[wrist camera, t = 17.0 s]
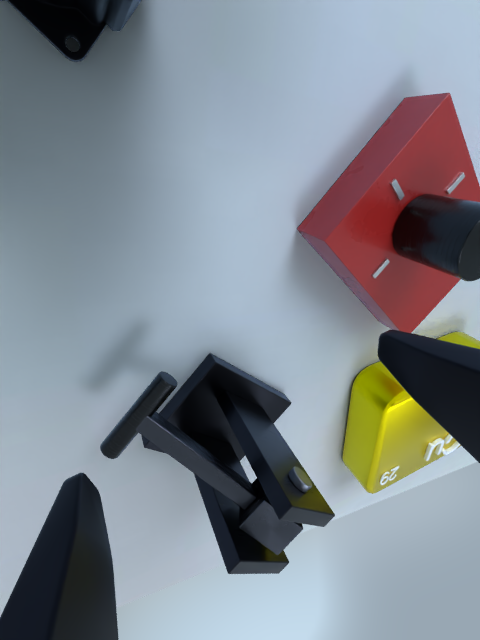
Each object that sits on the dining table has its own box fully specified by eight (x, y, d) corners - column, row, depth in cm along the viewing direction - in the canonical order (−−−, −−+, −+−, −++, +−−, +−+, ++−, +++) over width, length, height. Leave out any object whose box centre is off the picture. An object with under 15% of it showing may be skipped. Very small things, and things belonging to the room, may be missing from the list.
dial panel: (296, 229, 21) (326, 242, 18) (404, 97, 20) (453, 91, 17) (378, 321, 28) (407, 339, 26) (460, 230, 27) (499, 240, 25)
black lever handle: (109, 433, 19) (91, 456, 17) (165, 365, 19) (154, 379, 16) (256, 540, 21) (258, 576, 18) (313, 479, 20) (323, 508, 18)
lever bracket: (140, 435, 24) (174, 596, 15) (209, 352, 23) (284, 476, 14) (226, 460, 29) (284, 589, 21) (284, 394, 28) (370, 502, 20)
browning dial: (405, 268, 22) (474, 296, 18) (382, 232, 20) (455, 255, 16) (447, 221, 22) (526, 240, 18) (429, 178, 19) (515, 189, 15)
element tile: (466, 325, 35) (514, 348, 31) (433, 420, 43) (468, 449, 39) (352, 369, 30) (391, 404, 26) (339, 467, 38) (368, 504, 34)
